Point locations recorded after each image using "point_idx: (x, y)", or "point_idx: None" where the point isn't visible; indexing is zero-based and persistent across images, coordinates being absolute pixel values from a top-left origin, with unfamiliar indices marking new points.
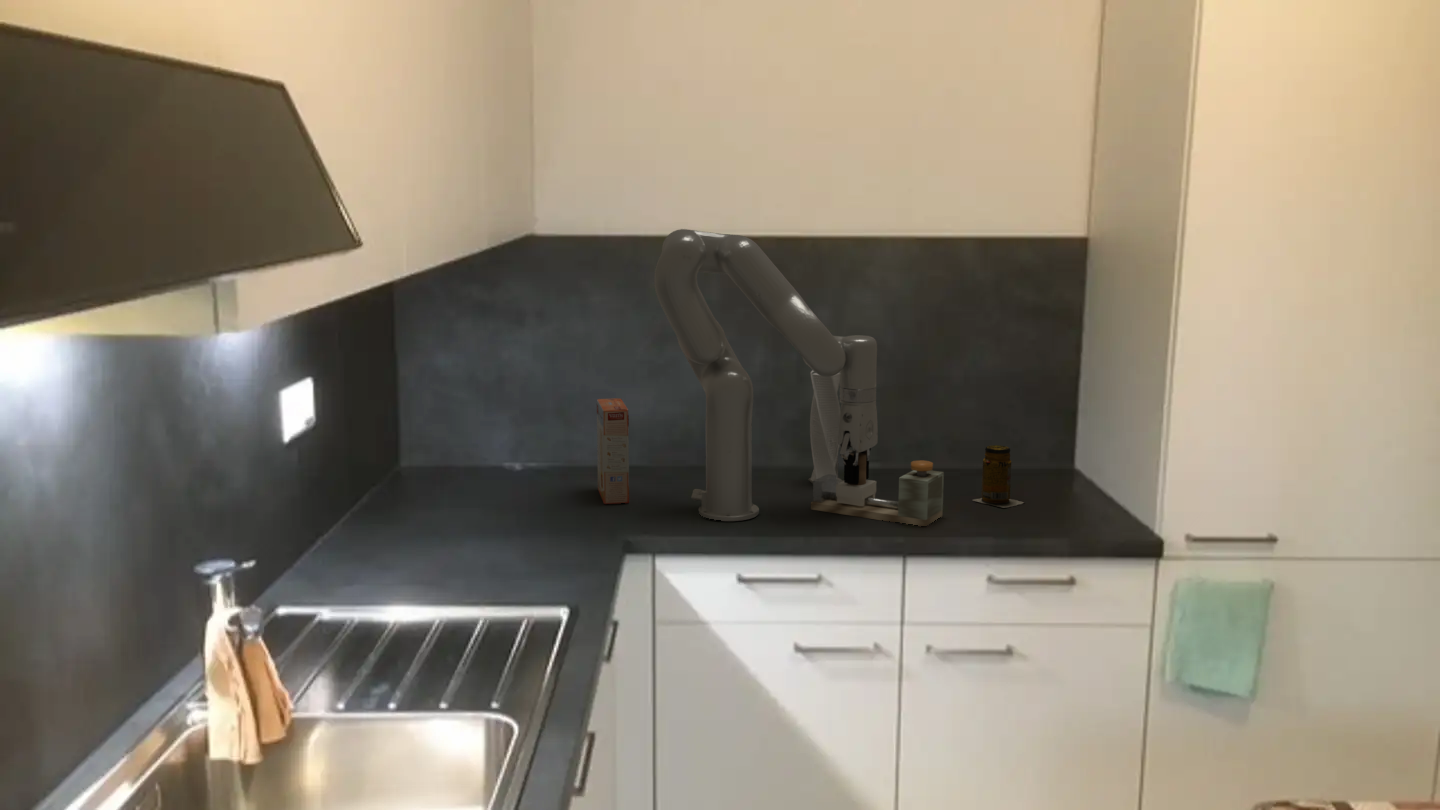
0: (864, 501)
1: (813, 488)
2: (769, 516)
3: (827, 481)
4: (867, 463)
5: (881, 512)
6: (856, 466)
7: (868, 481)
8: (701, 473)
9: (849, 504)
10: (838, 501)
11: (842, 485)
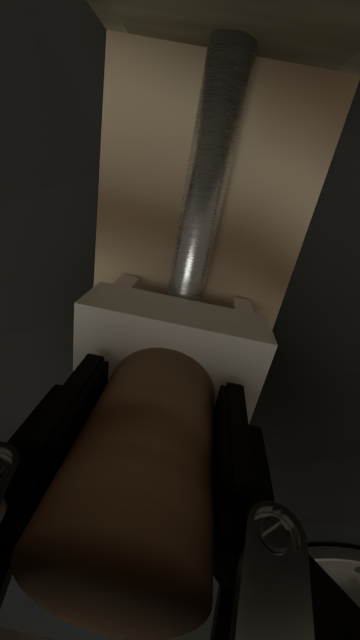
0: (234, 304)
1: None
2: (330, 522)
3: None
4: (55, 430)
5: (304, 195)
6: (253, 494)
7: (106, 342)
8: (35, 633)
9: None
10: None
11: None
